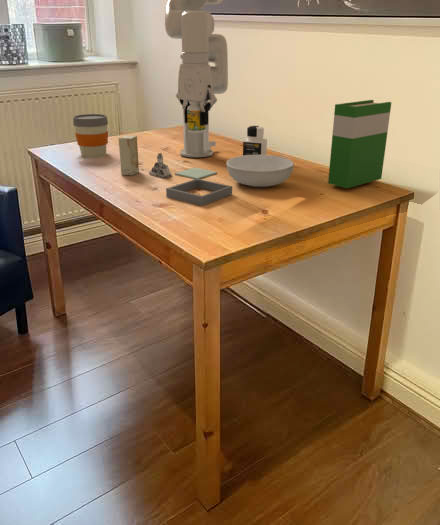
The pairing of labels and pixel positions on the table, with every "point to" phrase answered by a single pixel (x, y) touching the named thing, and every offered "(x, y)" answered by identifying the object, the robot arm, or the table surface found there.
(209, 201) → the grey square frame
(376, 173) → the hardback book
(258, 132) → the medicine bottle
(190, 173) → the place mat
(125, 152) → the skincare box
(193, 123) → the supplement bottle
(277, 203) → the table surface
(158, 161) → the grey building model
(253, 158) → the serving bowl
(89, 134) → the reusable coffee cup
